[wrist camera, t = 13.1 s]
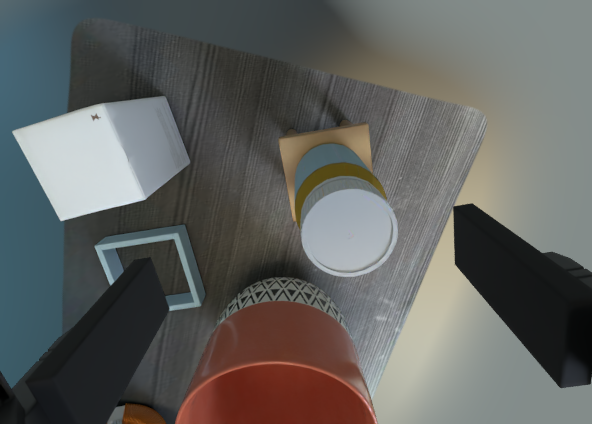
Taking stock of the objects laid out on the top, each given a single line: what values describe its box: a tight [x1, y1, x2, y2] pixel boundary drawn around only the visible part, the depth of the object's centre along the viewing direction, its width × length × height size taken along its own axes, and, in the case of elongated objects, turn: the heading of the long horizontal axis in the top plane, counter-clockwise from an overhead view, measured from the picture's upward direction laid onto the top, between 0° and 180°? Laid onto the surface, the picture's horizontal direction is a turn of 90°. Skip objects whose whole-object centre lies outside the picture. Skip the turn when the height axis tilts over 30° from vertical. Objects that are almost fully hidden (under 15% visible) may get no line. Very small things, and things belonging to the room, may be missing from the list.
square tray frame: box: [95, 224, 206, 311], centre depth 50 cm, size 12×12×3 cm
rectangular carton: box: [12, 96, 190, 221], centre depth 38 cm, size 9×9×15 cm
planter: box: [175, 277, 378, 424], centre depth 43 cm, size 20×20×21 cm
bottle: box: [294, 143, 398, 277], centre depth 29 cm, size 7×7×15 cm
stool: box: [278, 120, 373, 222], centre depth 41 cm, size 9×9×10 cm
